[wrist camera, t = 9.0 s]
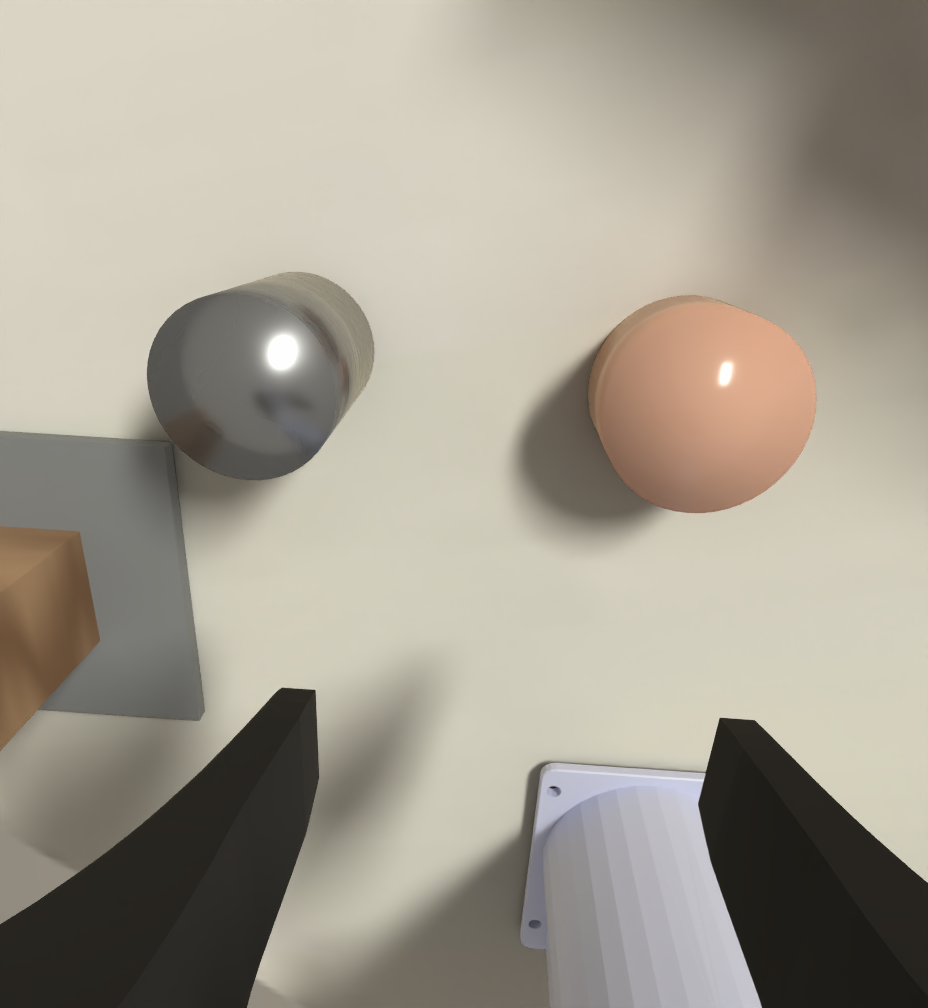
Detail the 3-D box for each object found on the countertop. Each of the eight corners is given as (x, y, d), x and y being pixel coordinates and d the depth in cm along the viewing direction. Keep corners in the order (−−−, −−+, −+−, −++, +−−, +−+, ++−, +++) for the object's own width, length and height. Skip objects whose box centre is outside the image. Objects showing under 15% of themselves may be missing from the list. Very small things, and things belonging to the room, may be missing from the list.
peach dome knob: (747, 477, 20) (787, 519, 17) (576, 465, 20) (590, 505, 17) (788, 301, 18) (842, 317, 15) (600, 289, 18) (619, 303, 15)
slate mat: (204, 711, 24) (199, 721, 24) (-74, 691, 24) (-85, 701, 24) (171, 441, 20) (164, 447, 20) (-162, 421, 20) (-176, 425, 20)
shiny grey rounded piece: (374, 421, 20) (337, 485, 15) (236, 413, 20) (159, 474, 15) (374, 276, 18) (333, 299, 14) (225, 267, 18) (134, 287, 14)
